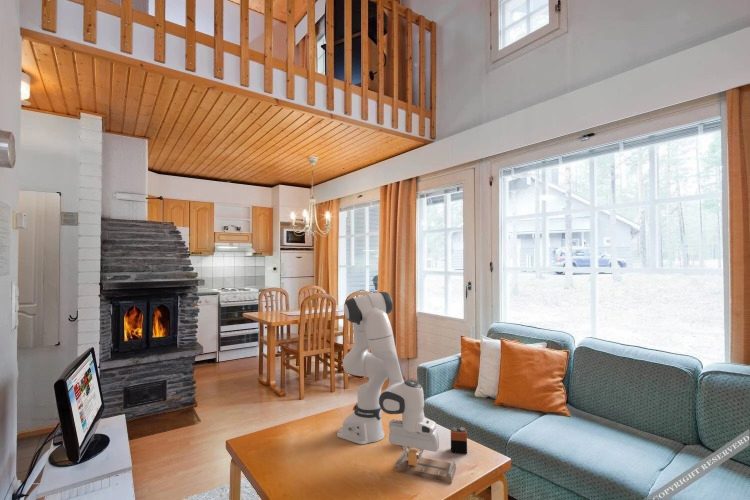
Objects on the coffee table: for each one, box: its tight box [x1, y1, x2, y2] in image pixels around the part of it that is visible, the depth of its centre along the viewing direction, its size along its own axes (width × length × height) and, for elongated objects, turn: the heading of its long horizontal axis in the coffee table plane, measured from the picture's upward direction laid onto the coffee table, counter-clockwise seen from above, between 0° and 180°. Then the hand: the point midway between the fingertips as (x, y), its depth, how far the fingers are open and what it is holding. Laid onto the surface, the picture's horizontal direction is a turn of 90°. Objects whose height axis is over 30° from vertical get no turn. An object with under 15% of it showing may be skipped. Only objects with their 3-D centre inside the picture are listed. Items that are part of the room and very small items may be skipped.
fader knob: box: [408, 447, 420, 466], centre depth 148 cm, size 3×5×5 cm, turn 158°
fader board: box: [394, 451, 457, 484], centre depth 146 cm, size 22×10×3 cm, turn 68°
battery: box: [450, 426, 468, 455], centre depth 161 cm, size 4×7×10 cm, turn 79°
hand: (413, 457), depth 148 cm, fingers closed on fader knob, 3 cm apart
